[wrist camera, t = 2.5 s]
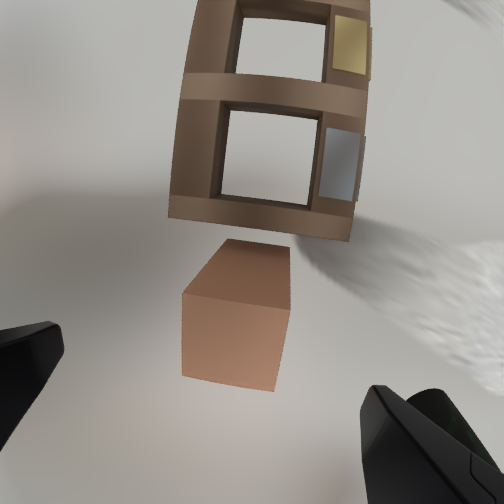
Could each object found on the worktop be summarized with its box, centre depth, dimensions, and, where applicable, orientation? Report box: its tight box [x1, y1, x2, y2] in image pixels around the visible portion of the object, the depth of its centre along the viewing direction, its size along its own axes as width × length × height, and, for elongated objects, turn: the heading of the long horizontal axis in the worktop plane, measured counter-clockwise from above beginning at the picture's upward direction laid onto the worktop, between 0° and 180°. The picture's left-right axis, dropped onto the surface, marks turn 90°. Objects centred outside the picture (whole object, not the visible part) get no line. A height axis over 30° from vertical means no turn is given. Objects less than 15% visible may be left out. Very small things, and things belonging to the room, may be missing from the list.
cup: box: [406, 388, 501, 472], centre depth 16 cm, size 8×8×12 cm
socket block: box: [168, 0, 372, 242], centre depth 16 cm, size 10×15×3 cm
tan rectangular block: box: [182, 239, 290, 392], centre depth 16 cm, size 4×4×9 cm
